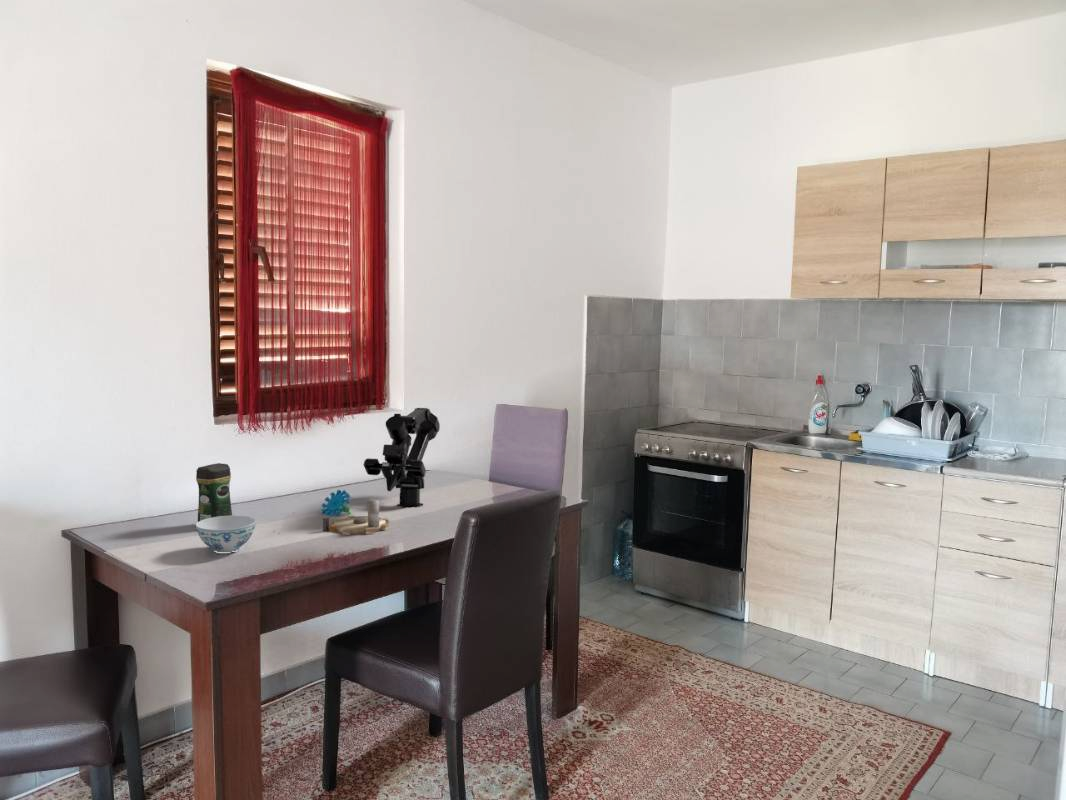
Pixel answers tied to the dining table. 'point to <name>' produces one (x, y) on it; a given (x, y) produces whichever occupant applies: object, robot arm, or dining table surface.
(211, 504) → the coffee jar
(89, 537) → the dining table surface
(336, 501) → the gear
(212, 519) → the chinaware
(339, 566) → the dining table surface
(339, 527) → the turntable
